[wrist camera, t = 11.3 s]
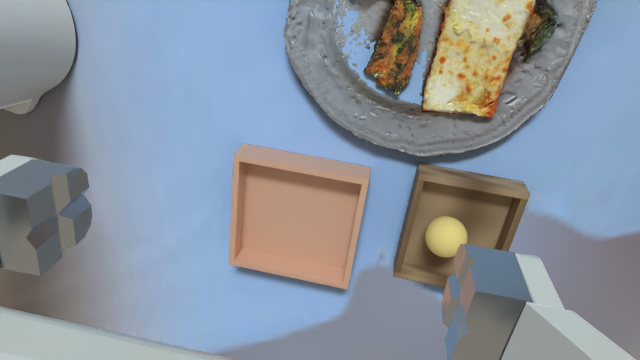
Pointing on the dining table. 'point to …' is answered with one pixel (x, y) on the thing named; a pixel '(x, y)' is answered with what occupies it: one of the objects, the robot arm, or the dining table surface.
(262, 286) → the dining table surface
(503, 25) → the food plate
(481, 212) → the tray
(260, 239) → the dish
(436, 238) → the ball
